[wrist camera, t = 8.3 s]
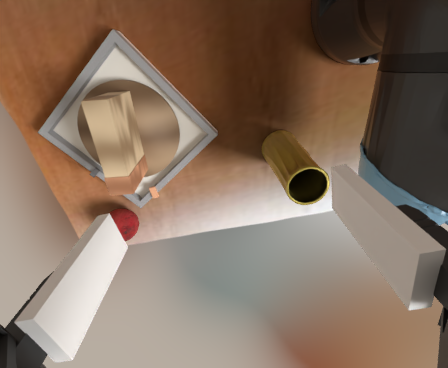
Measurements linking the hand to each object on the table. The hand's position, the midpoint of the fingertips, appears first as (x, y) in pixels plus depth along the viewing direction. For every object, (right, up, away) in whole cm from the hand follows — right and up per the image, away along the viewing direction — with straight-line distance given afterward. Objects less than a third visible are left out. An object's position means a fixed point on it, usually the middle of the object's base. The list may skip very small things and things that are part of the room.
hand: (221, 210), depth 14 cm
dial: (-14, +10, +23) cm, 29 cm away
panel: (-14, +10, +25) cm, 30 cm away
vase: (+10, +8, +27) cm, 30 cm away
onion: (-18, -4, +32) cm, 37 cm away
